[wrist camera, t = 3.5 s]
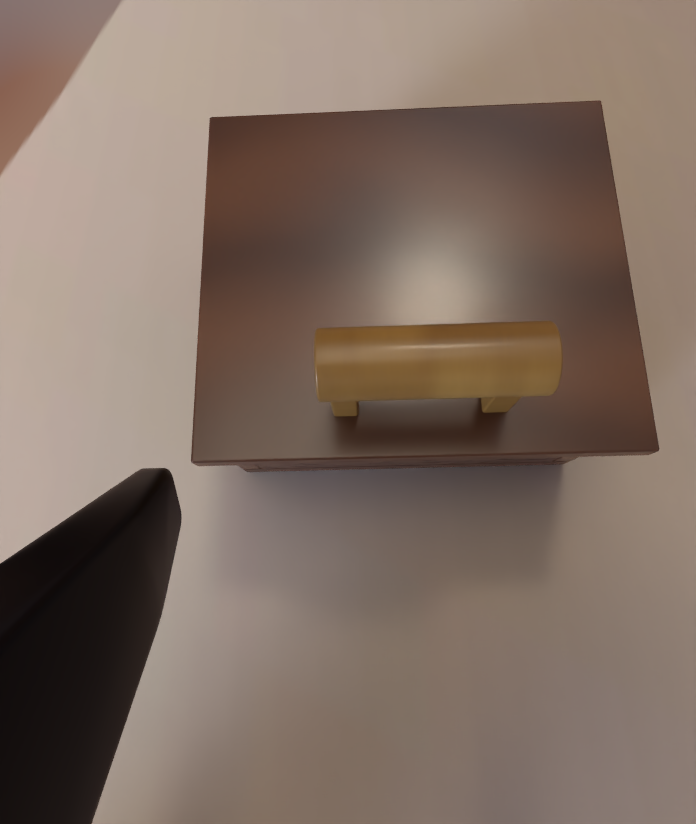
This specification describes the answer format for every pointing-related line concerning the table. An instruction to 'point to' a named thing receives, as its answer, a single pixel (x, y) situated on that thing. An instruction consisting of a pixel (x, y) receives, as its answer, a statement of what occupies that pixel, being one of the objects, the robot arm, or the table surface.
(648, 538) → the table surface
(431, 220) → the brown wooden lid
